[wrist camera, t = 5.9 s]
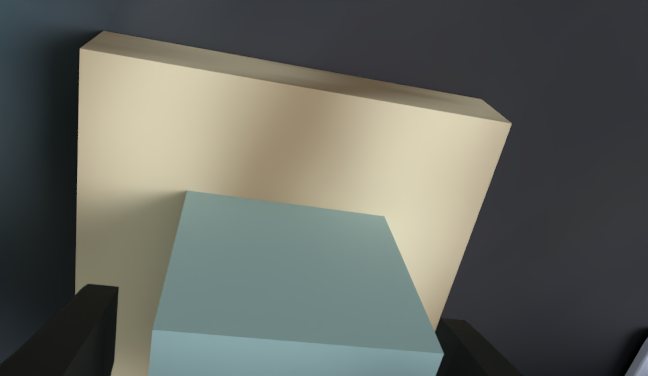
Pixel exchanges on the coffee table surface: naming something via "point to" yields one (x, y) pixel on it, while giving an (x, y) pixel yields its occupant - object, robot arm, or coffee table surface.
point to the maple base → (263, 163)
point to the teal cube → (287, 295)
